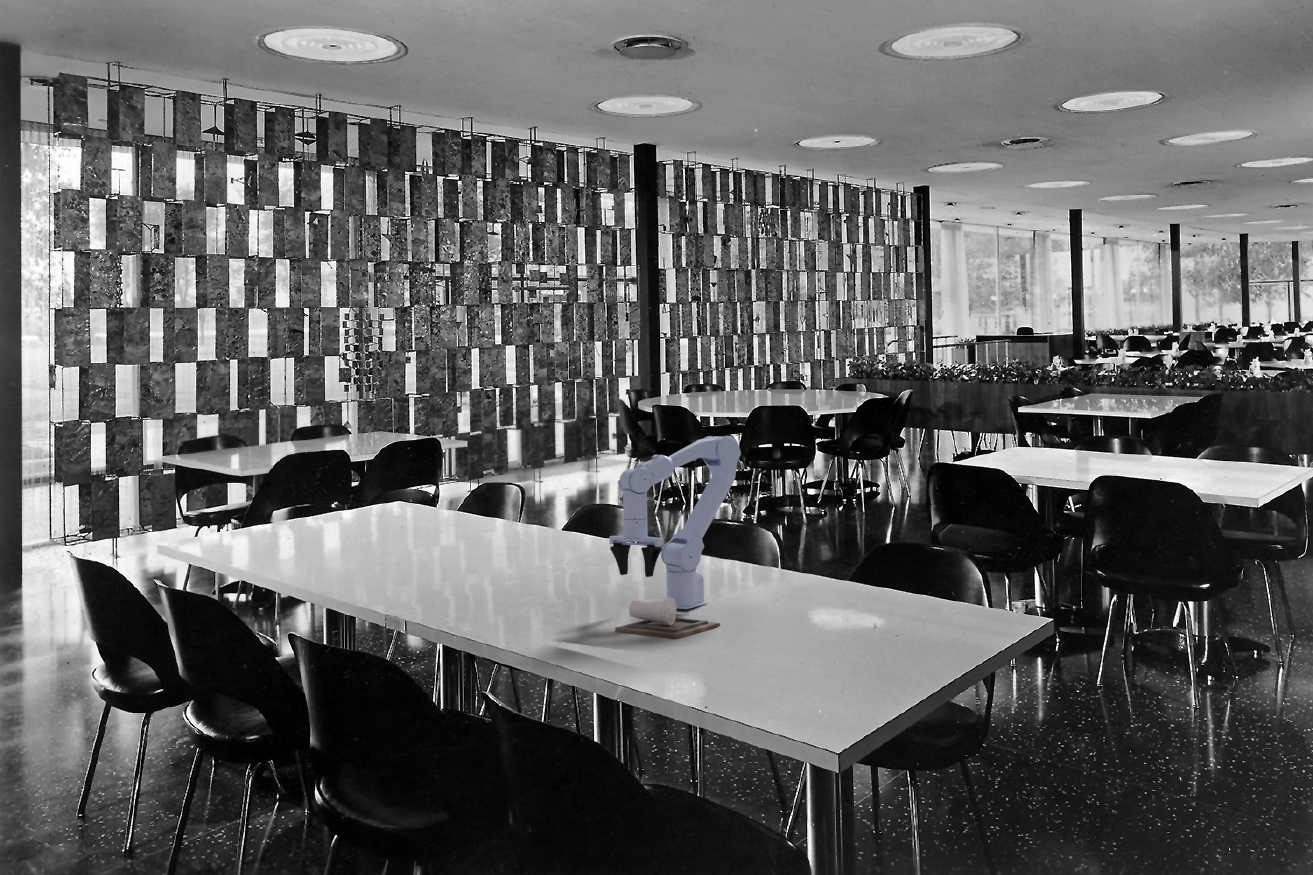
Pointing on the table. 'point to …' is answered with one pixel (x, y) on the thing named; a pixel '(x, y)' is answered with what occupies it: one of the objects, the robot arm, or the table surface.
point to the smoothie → (655, 610)
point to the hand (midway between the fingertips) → (636, 575)
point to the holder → (668, 628)
